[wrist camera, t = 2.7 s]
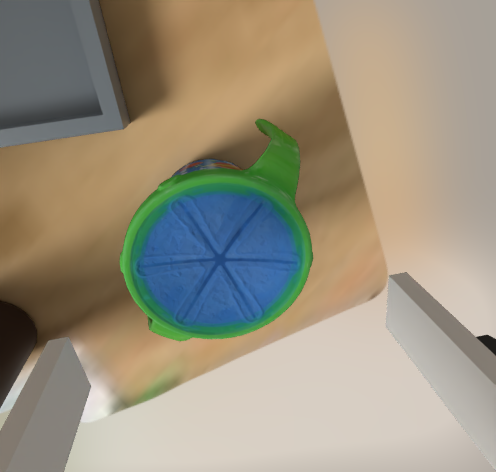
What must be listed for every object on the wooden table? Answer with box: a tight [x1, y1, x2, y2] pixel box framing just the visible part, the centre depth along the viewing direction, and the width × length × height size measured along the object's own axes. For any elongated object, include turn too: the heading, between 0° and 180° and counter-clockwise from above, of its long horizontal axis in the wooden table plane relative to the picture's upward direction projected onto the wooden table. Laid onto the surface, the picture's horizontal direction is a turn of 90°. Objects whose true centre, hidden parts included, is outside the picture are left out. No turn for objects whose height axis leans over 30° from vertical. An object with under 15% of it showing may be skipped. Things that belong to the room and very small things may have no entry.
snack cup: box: [120, 119, 313, 341], centre depth 24 cm, size 16×10×10 cm
